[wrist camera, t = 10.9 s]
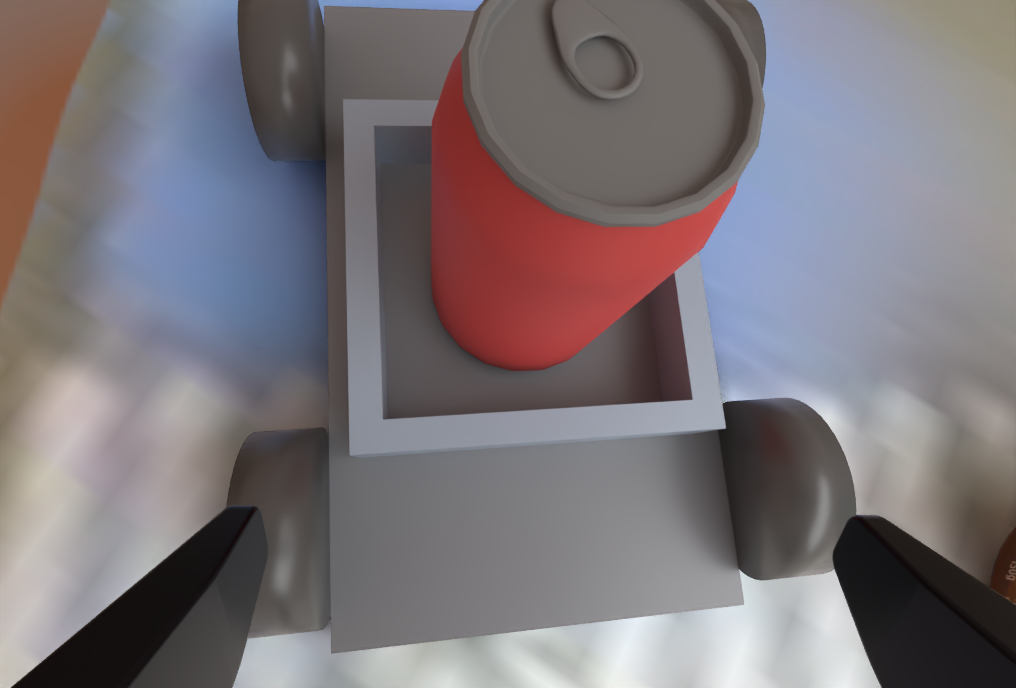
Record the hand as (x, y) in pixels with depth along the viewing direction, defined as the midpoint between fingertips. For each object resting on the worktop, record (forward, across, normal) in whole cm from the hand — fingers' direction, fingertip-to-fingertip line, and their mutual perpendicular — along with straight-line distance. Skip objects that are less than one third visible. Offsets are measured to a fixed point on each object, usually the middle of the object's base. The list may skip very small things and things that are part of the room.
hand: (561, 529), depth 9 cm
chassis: (+15, 0, +3) cm, 16 cm away
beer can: (+14, 0, +2) cm, 14 cm away
